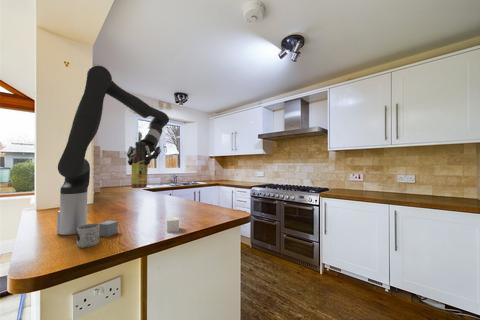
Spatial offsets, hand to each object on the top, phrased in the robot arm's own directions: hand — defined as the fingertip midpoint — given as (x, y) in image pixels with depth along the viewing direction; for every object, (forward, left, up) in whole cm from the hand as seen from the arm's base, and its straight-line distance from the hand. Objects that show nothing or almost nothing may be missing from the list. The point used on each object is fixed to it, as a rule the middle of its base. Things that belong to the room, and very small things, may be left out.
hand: (137, 164), depth 83 cm
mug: (-13, -10, -30) cm, 35 cm away
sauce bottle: (0, +2, -11) cm, 11 cm away
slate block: (-13, +2, -30) cm, 33 cm away
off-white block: (+13, +7, -30) cm, 34 cm away
